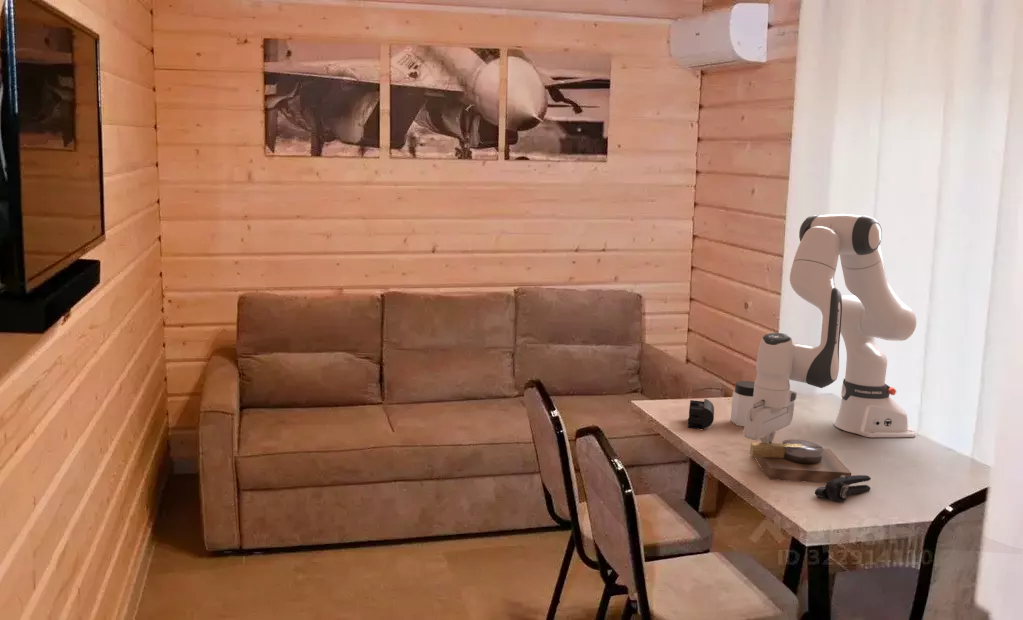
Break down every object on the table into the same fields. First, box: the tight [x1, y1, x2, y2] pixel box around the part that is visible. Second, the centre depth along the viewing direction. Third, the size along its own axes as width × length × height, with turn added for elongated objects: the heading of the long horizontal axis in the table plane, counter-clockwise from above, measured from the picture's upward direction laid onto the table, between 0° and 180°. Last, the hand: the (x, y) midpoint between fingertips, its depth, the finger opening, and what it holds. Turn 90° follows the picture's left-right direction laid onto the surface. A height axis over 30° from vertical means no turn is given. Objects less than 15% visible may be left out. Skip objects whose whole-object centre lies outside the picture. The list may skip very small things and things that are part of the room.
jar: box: [729, 380, 755, 427], centre depth 280 cm, size 9×8×12 cm
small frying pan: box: [749, 439, 824, 464], centre depth 242 cm, size 18×10×3 cm, turn 91°
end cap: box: [687, 398, 715, 430], centre depth 276 cm, size 10×7×7 cm
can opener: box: [814, 474, 872, 503], centre depth 226 cm, size 18×7×6 cm, turn 124°
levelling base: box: [754, 448, 852, 484], centre depth 243 cm, size 20×18×3 cm
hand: (766, 448), depth 245 cm, fingers closed
